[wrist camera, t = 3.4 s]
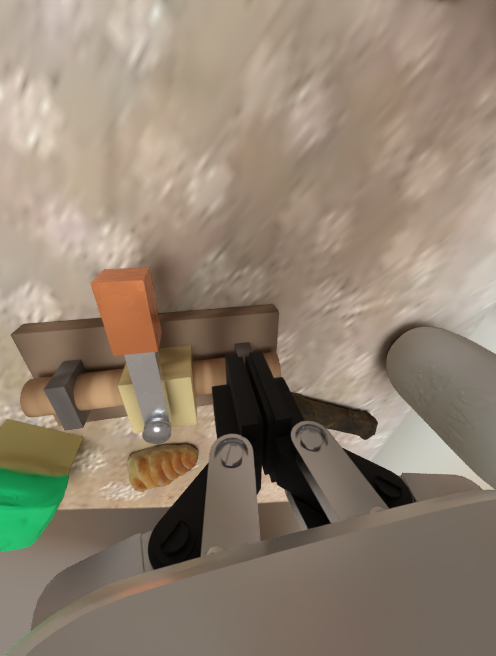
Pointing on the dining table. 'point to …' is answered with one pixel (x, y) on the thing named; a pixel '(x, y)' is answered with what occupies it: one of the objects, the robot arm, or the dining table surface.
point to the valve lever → (136, 341)
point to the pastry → (160, 465)
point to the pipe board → (173, 333)
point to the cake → (31, 479)
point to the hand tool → (337, 417)
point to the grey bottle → (450, 391)
